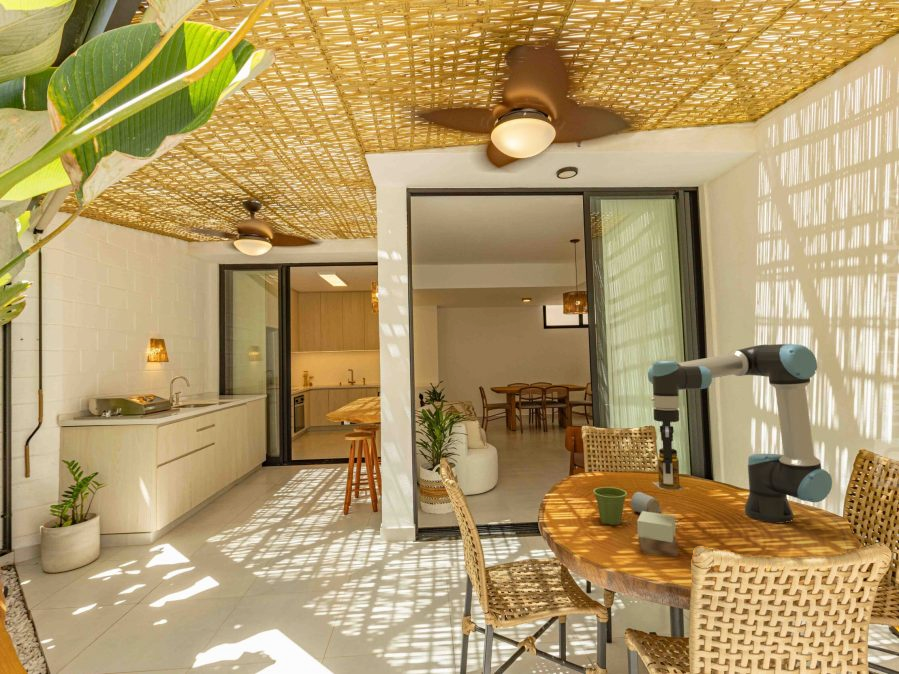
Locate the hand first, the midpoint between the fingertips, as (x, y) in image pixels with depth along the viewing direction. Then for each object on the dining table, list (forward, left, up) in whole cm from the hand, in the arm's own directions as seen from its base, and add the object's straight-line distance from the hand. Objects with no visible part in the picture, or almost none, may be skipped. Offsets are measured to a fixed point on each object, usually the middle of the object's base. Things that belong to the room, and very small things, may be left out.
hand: (667, 480), depth 152 cm
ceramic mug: (+7, -32, -22) cm, 40 cm away
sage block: (+4, +1, -17) cm, 18 cm away
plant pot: (+20, -18, -22) cm, 34 cm away
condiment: (0, -1, -2) cm, 2 cm away
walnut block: (+4, +1, -22) cm, 22 cm away
